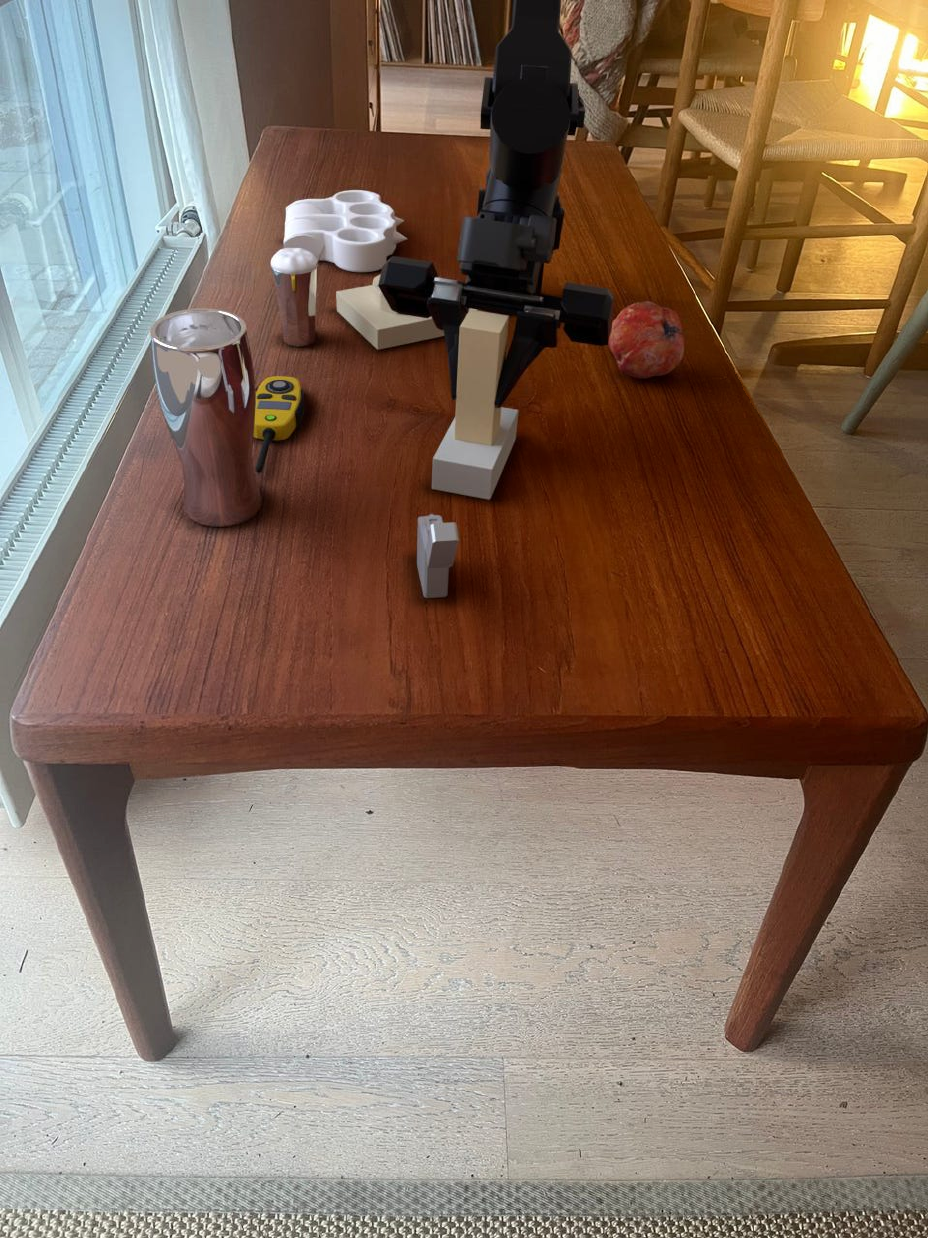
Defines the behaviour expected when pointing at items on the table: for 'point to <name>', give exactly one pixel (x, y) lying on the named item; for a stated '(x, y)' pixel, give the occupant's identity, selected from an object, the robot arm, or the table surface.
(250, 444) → the beer glass
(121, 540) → the table surface
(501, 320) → the stamp
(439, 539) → the lighter
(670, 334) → the pomegranate
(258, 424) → the remote control
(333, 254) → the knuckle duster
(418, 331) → the bell stand
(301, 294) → the milkshake
